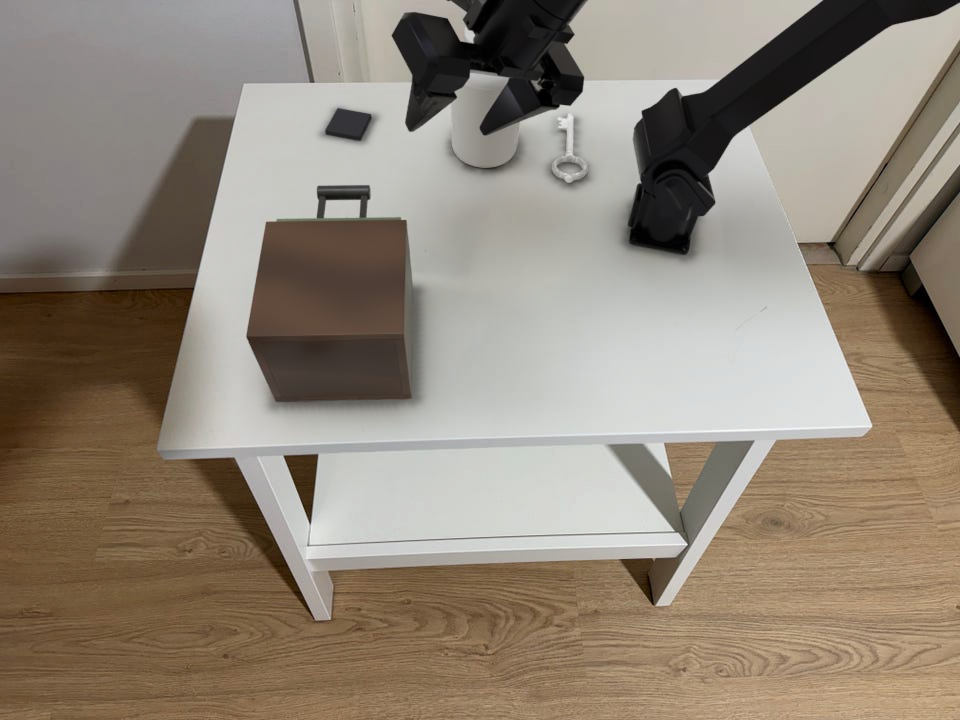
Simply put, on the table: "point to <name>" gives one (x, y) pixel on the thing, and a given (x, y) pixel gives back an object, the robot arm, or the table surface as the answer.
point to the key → (569, 152)
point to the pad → (348, 124)
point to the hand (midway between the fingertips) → (447, 130)
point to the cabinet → (334, 310)
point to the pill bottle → (480, 121)
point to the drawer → (342, 194)
